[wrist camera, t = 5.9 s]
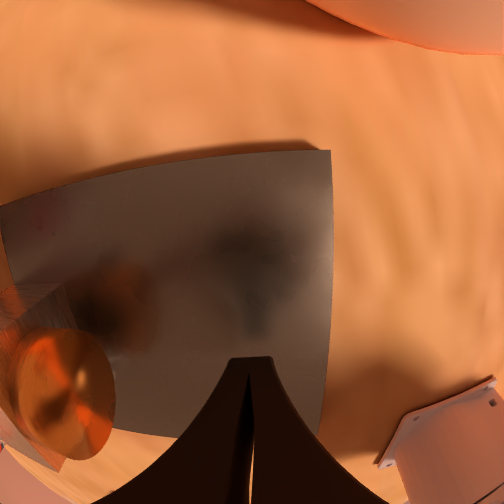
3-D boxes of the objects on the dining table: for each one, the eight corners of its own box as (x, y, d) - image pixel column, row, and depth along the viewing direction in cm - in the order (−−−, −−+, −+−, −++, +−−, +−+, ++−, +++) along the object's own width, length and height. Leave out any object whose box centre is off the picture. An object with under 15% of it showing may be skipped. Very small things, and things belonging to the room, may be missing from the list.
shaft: (87, 304, 9) (8, 388, 4) (126, 398, 10) (89, 482, 6) (-19, 298, 9) (-73, 339, 4) (14, 370, 11) (-26, 418, 6)
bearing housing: (323, 151, 9) (452, 132, 2) (315, 422, 13) (333, 526, 7) (9, 203, 10) (-93, 241, 3) (86, 410, 14) (47, 483, 7)
